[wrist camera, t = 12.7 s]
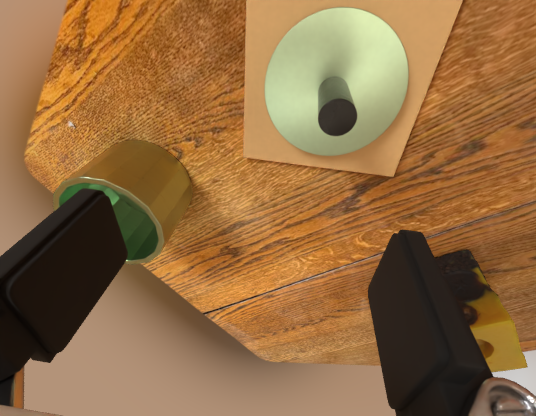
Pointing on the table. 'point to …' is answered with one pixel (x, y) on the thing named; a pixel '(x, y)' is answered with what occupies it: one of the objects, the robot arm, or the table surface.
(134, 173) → the pot
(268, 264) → the table surface
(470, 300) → the candle
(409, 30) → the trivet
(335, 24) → the lid
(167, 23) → the table surface
